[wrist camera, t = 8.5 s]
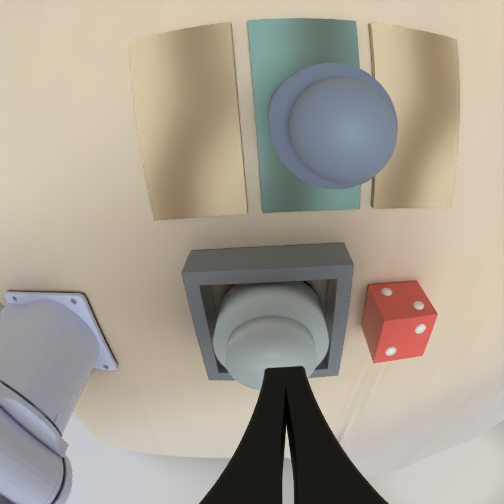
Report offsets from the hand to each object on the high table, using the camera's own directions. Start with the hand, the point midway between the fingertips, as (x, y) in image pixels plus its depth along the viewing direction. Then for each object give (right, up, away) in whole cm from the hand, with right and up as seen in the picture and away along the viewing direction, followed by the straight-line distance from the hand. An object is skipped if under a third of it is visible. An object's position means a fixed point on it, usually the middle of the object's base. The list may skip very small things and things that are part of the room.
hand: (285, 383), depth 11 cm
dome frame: (0, +1, +9) cm, 9 cm away
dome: (0, +1, +9) cm, 9 cm away
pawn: (+2, +11, +3) cm, 12 cm away
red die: (+8, +1, +9) cm, 12 cm away
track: (+2, +12, +3) cm, 12 cm away
